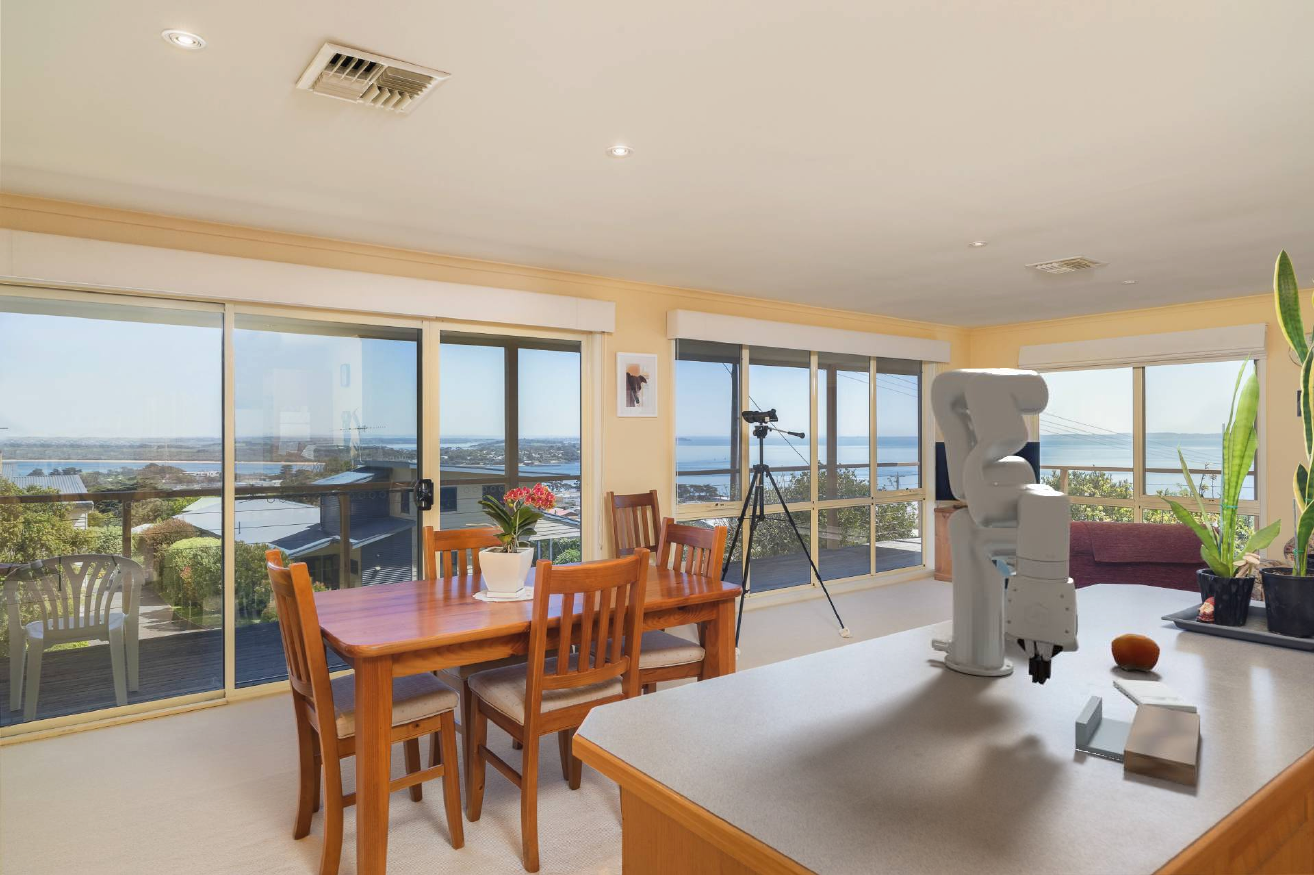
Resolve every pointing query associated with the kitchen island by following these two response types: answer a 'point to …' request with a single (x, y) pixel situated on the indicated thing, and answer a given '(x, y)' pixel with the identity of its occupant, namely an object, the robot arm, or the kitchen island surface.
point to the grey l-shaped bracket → (1100, 731)
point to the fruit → (1135, 652)
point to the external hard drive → (1154, 695)
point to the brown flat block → (1163, 744)
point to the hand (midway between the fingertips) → (1039, 681)
